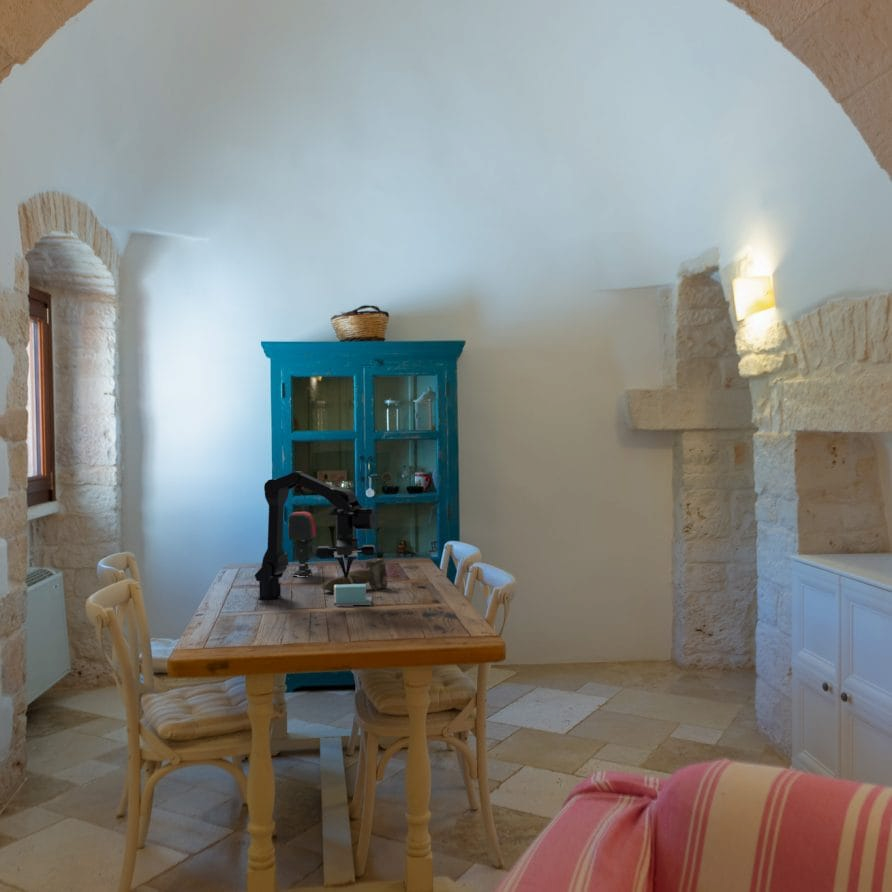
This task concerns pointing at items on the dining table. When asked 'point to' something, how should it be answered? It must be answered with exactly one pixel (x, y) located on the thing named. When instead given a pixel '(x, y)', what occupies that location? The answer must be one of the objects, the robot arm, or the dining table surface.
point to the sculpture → (362, 576)
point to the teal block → (349, 593)
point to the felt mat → (368, 602)
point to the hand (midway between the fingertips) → (346, 577)
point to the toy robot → (302, 538)
